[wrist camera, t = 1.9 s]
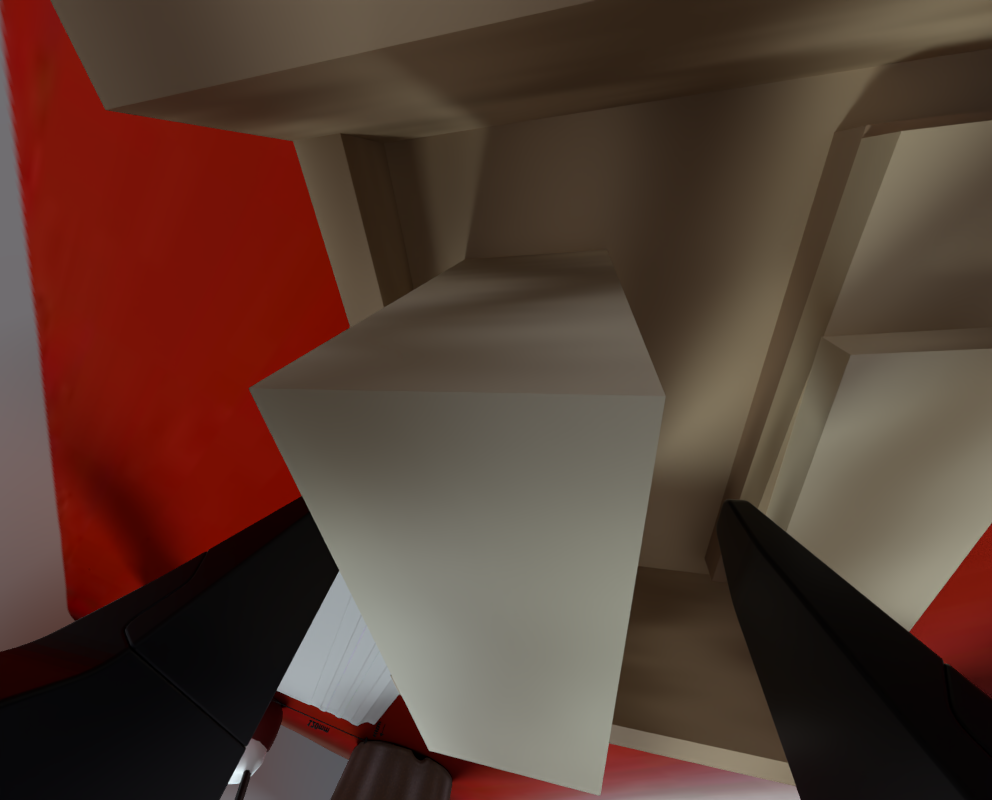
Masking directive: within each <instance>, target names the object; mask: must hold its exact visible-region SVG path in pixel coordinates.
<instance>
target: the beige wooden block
mask: <svg viewBox="0 0 992 800" xmlns="http://www.w3.org/2000/svg"><path fill="white" fill-rule="evenodd" d="M249 390H250V392H251V394H252V396H253V398H254V400H255V402H256V404H257V406H258V408H259V410H260V412H261V414H262V416H263V418H264V420H265V422H266V424H267V426H268V428H269V430H270V432H271V434H272V436H273V438H274V440H275V442H276V444H277V446H278V448H279V450H280V452H281V454H282V456H283V458H284V460H285V462H286V464H287V466H288V468H289V470H290V472H291V474H292V476H293V479H294V481H295V483H296V485H297V487H298V489H299V491H300V493H301V495H302V497H303V499H304V501H305V503H306V505H307V507H308V509H309V511H310V513H311V515H312V517H313V519H314V521H315V523H316V525H317V527H318V529H319V531H320V533H321V535H322V537H323V539H324V541H325V543H326V545H327V547H328V549H329V551H330V553H331V555H332V557H333V559H334V561H335V563H336V565H337V567H338V569H339V571H340V573H341V575H342V577H343V579H344V581H345V583H346V585H347V587H348V589H349V591H350V593H351V595H352V597H353V599H354V601H355V603H356V605H357V607H358V609H359V611H360V613H361V615H362V617H363V619H364V621H365V623H366V625H367V627H368V629H369V631H370V633H371V635H372V637H373V639H374V641H375V643H376V645H377V647H378V649H379V651H380V653H381V655H382V657H383V659H384V661H385V663H386V665H387V667H388V669H389V671H390V673H391V675H392V677H393V679H394V681H395V683H396V685H397V687H398V689H399V691H400V693H401V695H402V697H403V699H404V701H405V703H406V705H407V707H408V709H409V711H410V713H411V715H412V717H413V719H414V721H415V723H416V725H417V727H418V729H419V731H420V733H421V735H422V737H423V739H424V741H425V743H426V745H427V747H428V749H429V751H432V752H436V753H440V754H444V755H448V756H451V757H455V758H459V759H463V760H466V761H470V762H474V763H478V764H482V765H485V766H489V767H493V768H497V769H501V770H504V771H508V772H512V773H516V774H520V775H523V776H527V777H531V778H535V779H538V780H542V781H546V782H550V783H554V784H557V785H561V786H565V787H569V788H573V789H576V790H580V791H584V792H588V793H592V794H595V795H599V796H600V794H601V788H602V781H603V775H604V769H605V763H606V757H607V751H608V745H609V739H610V733H611V727H612V720H613V714H614V708H615V702H616V696H617V690H618V684H619V678H620V672H621V666H622V659H623V653H624V647H625V641H626V635H627V629H628V623H629V617H630V611H631V605H632V598H633V592H634V586H635V580H636V574H637V568H638V562H639V556H640V550H641V544H642V537H643V531H644V525H645V519H646V513H647V507H648V501H649V495H650V489H651V483H652V476H653V470H654V464H655V458H656V452H657V446H658V440H659V434H660V428H661V422H662V415H663V409H664V403H665V397H666V396H665V393H664V391H663V388H662V386H661V383H660V381H659V378H658V376H657V373H656V371H655V368H654V366H653V363H652V361H651V358H650V356H649V353H648V351H647V348H646V346H645V343H644V341H643V338H642V336H641V333H640V331H639V328H638V326H637V323H636V321H635V318H634V316H633V313H632V311H631V308H630V306H629V303H628V301H627V299H626V296H625V294H624V291H623V289H622V286H621V284H620V281H619V279H618V276H617V274H616V271H615V269H614V266H613V264H612V261H611V259H610V256H609V254H608V251H607V250H592V251H578V252H564V253H550V254H535V255H521V256H507V257H493V258H478V259H465V260H463V261H461V262H460V263H458V264H456V265H455V266H453V267H451V268H450V269H448V270H446V271H444V272H443V273H441V274H439V275H438V276H436V277H434V278H433V279H431V280H429V281H428V282H426V283H424V284H423V285H421V286H419V287H418V288H416V289H414V290H413V291H411V292H409V293H408V294H406V295H404V296H403V297H401V298H399V299H398V300H396V301H394V302H393V303H391V304H389V305H387V306H386V307H384V308H382V309H381V310H379V311H377V312H376V313H374V314H372V315H371V316H369V317H367V318H366V319H364V320H362V321H361V322H359V323H357V324H356V325H354V326H352V327H351V328H349V329H347V330H346V331H344V332H342V333H341V334H339V335H337V336H335V337H334V338H332V339H330V340H329V341H327V342H325V343H324V344H322V345H320V346H319V347H317V348H315V349H314V350H312V351H310V352H309V353H307V354H305V355H304V356H302V357H300V358H299V359H297V360H295V361H294V362H292V363H290V364H289V365H287V366H285V367H284V368H282V369H280V370H278V371H277V372H275V373H273V374H272V375H270V376H268V377H267V378H265V379H263V380H262V381H260V382H258V383H257V384H255V385H253V386H252V387H250V388H249Z"/></svg>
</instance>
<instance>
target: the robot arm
mask: <svg viewBox="0 0 992 800" xmlns="http://www.w3.org/2000/svg"><path fill="white" fill-rule="evenodd" d="M716 532H717V538H718V542H719V547H720V551H721V555H722V560H723V564H724V569H725V573H726V577H727V582H728V586H729V591H730V595H731V599H732V603H733V606H734V609H735V612H736V615H737V618H738V621H739V624H740V627H741V630H742V633H743V635H744V638H745V641H746V644H747V647H748V650H749V653H750V656H751V658H752V661H753V664H754V667H755V670H756V673H757V676H758V679H759V681H760V684H761V687H762V690H763V693H764V696H765V699H766V701H767V704H768V707H769V710H770V713H771V716H772V719H773V722H774V724H775V727H776V730H777V733H778V736H779V739H780V742H781V744H782V747H783V750H784V753H785V756H786V759H787V762H788V765H789V767H790V770H791V773H792V776H793V779H794V782H795V785H796V787H797V790H798V793H799V796H800V799H801V800H992V699H991V698H990V697H989V696H988V695H986V694H985V693H984V692H983V691H981V690H980V689H979V688H978V687H976V686H975V685H974V684H973V683H971V682H970V681H969V680H968V679H967V678H965V677H964V676H963V675H962V674H960V673H959V672H958V671H957V670H955V669H954V668H953V667H952V666H950V665H949V664H944V662H943V660H942V658H940V657H939V656H938V655H937V654H936V653H934V652H933V651H932V650H931V649H929V648H928V647H927V646H926V645H924V644H923V643H922V642H921V641H920V640H918V639H917V638H916V637H915V636H913V635H912V634H911V633H910V632H909V631H907V630H906V629H905V628H904V627H902V626H901V625H900V624H899V623H897V622H896V621H895V620H894V619H893V618H891V617H890V616H889V615H888V614H886V613H885V612H884V611H883V610H881V609H880V608H879V607H878V606H877V605H875V604H874V603H873V602H872V601H870V600H869V599H868V598H867V597H866V596H864V595H863V594H862V593H861V592H859V591H858V590H857V589H856V588H854V587H853V586H852V585H851V584H850V583H848V582H847V581H846V580H845V579H843V578H842V577H841V576H840V575H838V574H837V573H836V572H835V571H834V570H832V569H831V568H830V567H829V566H827V565H826V564H825V563H824V562H823V561H821V560H820V559H819V558H818V557H816V556H815V555H814V554H813V553H811V552H810V551H809V550H808V549H807V548H805V547H804V546H803V545H802V544H800V543H799V542H798V541H797V540H795V539H794V538H793V537H792V536H791V535H789V534H788V533H787V532H786V531H784V530H783V529H782V528H781V527H780V526H778V525H777V524H776V523H775V522H773V521H772V520H771V519H770V518H768V517H767V516H766V515H765V514H764V513H762V512H761V511H760V510H759V509H757V508H756V507H755V506H754V505H752V504H751V503H750V502H748V501H746V500H738V499H726V500H725V501H724V502H723V505H722V508H721V511H720V515H719V518H718V521H717V525H716ZM338 572H339V569H338V567H337V565H336V563H335V561H334V559H333V557H332V555H331V553H330V551H329V549H328V547H327V545H326V543H325V541H324V539H323V537H322V535H321V533H320V531H319V529H318V527H317V525H316V523H315V521H314V519H313V517H312V515H311V513H310V511H309V509H308V507H307V505H306V503H305V501H304V499H303V497H302V496H301V497H300V498H298V499H296V500H294V501H293V502H291V503H289V504H287V505H286V506H284V507H282V508H280V509H279V510H277V511H275V512H273V513H272V514H270V515H268V516H267V517H265V518H263V519H261V520H260V521H258V522H256V523H254V524H253V525H251V526H249V527H247V528H246V529H244V530H242V531H240V532H239V533H237V534H235V535H233V536H232V537H230V538H228V539H227V540H225V541H223V542H221V543H220V544H218V545H216V546H214V547H213V548H211V549H209V550H208V552H204V553H202V554H200V555H199V556H197V557H195V558H193V559H192V560H190V561H188V562H186V563H185V564H183V565H181V566H179V567H178V568H176V569H174V570H172V571H170V572H169V573H167V574H165V575H163V576H161V577H160V578H158V579H156V580H154V581H152V582H150V583H148V584H146V585H144V586H143V587H141V588H139V589H137V590H135V591H133V592H131V593H129V594H127V595H125V596H123V597H121V598H120V599H118V600H116V601H114V602H112V603H110V604H108V605H106V606H104V607H102V608H100V609H98V610H96V611H94V612H92V613H90V614H89V615H87V616H85V617H83V618H81V619H79V620H77V621H75V622H73V623H71V624H69V625H67V626H65V627H63V628H61V629H60V630H57V631H55V632H53V633H51V634H49V635H47V636H45V637H43V638H40V639H38V640H35V641H33V642H30V643H28V644H25V645H22V646H19V647H16V648H12V649H9V650H5V651H1V652H0V800H220V798H221V796H222V794H223V792H224V790H225V788H226V786H227V784H228V783H229V781H230V779H231V777H232V775H233V773H234V771H235V769H236V767H237V765H238V764H239V762H240V760H241V758H242V756H243V754H244V752H245V750H246V746H247V745H248V744H249V742H250V740H251V738H252V736H253V734H254V733H255V731H256V729H257V727H258V725H259V723H260V721H261V719H262V717H263V715H264V713H265V712H266V710H267V708H268V706H269V704H270V702H271V700H272V698H273V696H274V694H275V692H276V691H277V689H278V687H279V685H280V683H281V681H282V679H283V677H284V675H285V673H286V672H287V670H288V668H289V666H290V664H291V662H292V660H293V658H294V656H295V654H296V652H297V651H298V649H299V647H300V645H301V643H302V641H303V639H304V637H305V635H306V633H307V631H308V630H309V628H310V626H311V624H312V622H313V620H314V618H315V616H316V614H317V612H318V610H319V609H320V607H321V605H322V603H323V601H324V599H325V597H326V595H327V593H328V591H329V590H330V588H331V586H332V584H333V582H334V580H335V578H336V576H337V574H338Z"/></svg>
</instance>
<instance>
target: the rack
mask: <svg viewBox="0 0 992 800" xmlns="http://www.w3.org/2000/svg"><path fill="white" fill-rule="evenodd" d="M51 2H52V4H53V6H54V8H55V10H56V12H57V14H58V16H59V18H60V20H61V22H62V24H63V26H64V28H65V30H66V32H67V34H68V36H69V38H70V40H71V42H72V44H73V46H74V48H75V50H76V52H77V54H78V56H79V58H80V60H81V62H82V64H83V66H84V68H85V70H86V72H87V74H88V76H89V78H90V80H91V82H92V84H93V86H94V88H95V90H96V92H97V94H98V96H99V98H100V100H101V102H102V104H103V106H104V108H105V110H109V111H115V112H121V113H127V114H133V115H139V116H145V117H151V118H157V119H163V120H169V121H175V122H181V123H187V124H193V125H199V126H205V127H211V128H217V129H223V130H229V131H235V132H241V133H247V134H253V135H259V136H265V137H271V138H277V139H284V140H290V141H293V142H294V145H295V149H296V152H297V155H298V158H299V162H300V165H301V168H302V171H303V175H304V178H305V181H306V184H307V188H308V191H309V194H310V197H311V201H312V204H313V207H314V210H315V214H316V217H317V220H318V223H319V227H320V230H321V233H322V236H323V240H324V243H325V246H326V249H327V253H328V256H329V259H330V262H331V266H332V269H333V272H334V276H335V279H336V282H337V285H338V289H339V292H340V295H341V298H342V302H343V305H344V308H345V311H346V315H347V318H348V321H349V324H350V328H351V327H352V326H354V325H356V324H357V323H359V322H361V321H362V320H364V319H366V318H367V317H369V316H371V315H372V314H374V313H376V312H377V311H379V310H381V309H382V308H384V307H386V306H387V305H389V304H391V303H393V302H394V301H396V300H398V299H399V298H401V297H403V296H404V295H406V294H408V293H409V292H411V291H413V290H414V289H416V288H418V287H419V286H421V285H423V284H424V283H426V282H428V281H429V280H431V279H433V278H434V277H436V276H438V275H439V274H441V273H443V272H444V271H446V270H448V269H450V268H451V267H453V266H455V265H456V264H458V263H460V262H461V261H463V260H465V259H478V258H493V257H507V256H521V255H535V254H550V253H564V252H578V251H592V250H607V251H608V254H609V256H610V259H611V261H612V264H613V266H614V269H615V271H616V274H617V276H618V279H619V281H620V284H621V286H622V289H623V291H624V294H625V296H626V299H627V301H628V303H629V306H630V308H631V311H632V313H633V316H634V318H635V321H636V323H637V326H638V328H639V331H640V333H641V336H642V338H643V341H644V343H645V346H646V348H647V351H648V353H649V356H650V358H651V361H652V363H653V366H654V368H655V371H656V373H657V376H658V378H659V381H660V383H661V386H662V388H663V391H664V393H665V396H666V397H665V403H664V409H663V415H662V422H661V428H660V434H659V440H658V446H657V452H656V458H655V464H654V470H653V476H652V483H651V489H650V495H649V501H648V507H647V513H646V519H645V525H644V531H643V537H642V544H641V550H640V556H639V562H638V568H637V574H636V580H635V586H634V592H633V598H632V605H631V611H630V617H629V623H628V629H627V635H626V641H625V647H624V653H623V659H622V666H621V672H620V678H619V684H618V690H617V696H616V702H615V708H614V714H613V720H612V727H611V733H610V739H609V743H611V744H615V745H619V746H624V747H628V748H632V749H637V750H641V751H645V752H650V753H654V754H658V755H663V756H667V757H671V758H676V759H680V760H684V761H689V762H693V763H697V764H702V765H706V766H710V767H715V768H719V769H723V770H728V771H732V772H736V773H741V774H745V775H749V776H754V777H758V778H762V779H767V780H771V781H776V782H780V783H784V784H789V785H793V786H796V785H795V782H794V779H793V776H792V773H791V770H790V767H789V765H788V762H787V759H786V756H785V753H784V750H783V747H782V744H781V742H780V739H779V736H778V733H777V730H776V727H775V724H774V722H773V719H772V716H771V713H770V710H769V707H768V704H767V701H766V699H765V696H764V693H763V690H762V687H761V684H760V681H759V679H758V676H757V673H756V670H755V667H754V664H753V661H752V658H751V656H750V653H749V650H748V647H747V644H746V641H745V638H744V635H743V633H742V630H741V627H740V624H739V621H738V618H737V615H736V612H735V609H734V606H733V603H732V599H731V595H730V591H729V586H728V583H724V582H716V581H712V580H711V577H710V574H709V571H708V568H707V565H706V561H705V555H706V551H707V548H708V545H709V541H710V538H711V535H712V532H713V528H714V525H715V522H716V518H717V515H718V512H719V509H720V505H721V502H722V499H723V496H724V492H725V489H726V486H727V482H728V479H729V476H730V473H731V469H732V466H733V463H734V459H735V456H736V453H737V450H738V446H739V443H740V440H741V437H742V433H743V430H744V427H745V423H746V420H747V417H748V414H749V410H750V407H751V404H752V401H753V397H754V394H755V391H756V387H757V384H758V381H759V378H760V374H761V371H762V368H763V364H764V361H765V358H766V355H767V351H768V348H769V345H770V342H771V338H772V335H773V332H774V328H775V325H776V322H777V319H778V315H779V312H780V309H781V306H782V302H783V299H784V296H785V292H786V289H787V286H788V283H789V279H790V276H791V273H792V269H793V266H794V263H795V260H796V256H797V253H798V250H799V247H800V243H801V240H802V237H803V233H804V230H805V227H806V224H807V220H808V217H809V214H810V211H811V207H812V204H813V201H814V197H815V194H816V191H817V188H818V184H819V181H820V178H821V174H822V171H823V168H824V165H825V161H826V158H827V155H828V152H829V148H830V145H831V142H832V138H833V135H834V132H839V131H843V130H848V129H852V128H856V127H861V126H865V125H873V124H881V123H889V122H896V121H904V120H912V119H920V118H928V117H936V116H944V115H952V114H960V113H968V112H976V111H984V110H992V0H51ZM390 676H391V678H392V680H393V682H394V684H395V686H396V688H397V690H398V692H399V694H400V695H401V693H400V691H399V689H398V687H397V685H396V683H395V681H394V679H393V677H392V675H390Z"/></svg>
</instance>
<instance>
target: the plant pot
mask: <svg viewBox="0 0 992 800" xmlns="http://www.w3.org/2000/svg"><path fill="white" fill-rule="evenodd" d="M363 744H364V742H361V743H359V745H358V746H356V747H355V748H354V750H353V752H352V754H351V756H350V759H349V761H348V763H347V765H346V768H345V770H344V772H343V774H342V776H341V778H340V780H339V783H338V785H337V787H336V789H335V791H334V793H333V795H332V798H331V800H450V794H451V788H452V778H451V776H450V774H449V773H448V771H447V770H446V769H445V768H444V767H443V766H440V765H439V764H438V763H436V762H435V761H433V760H431V759H430V758H427V757H426V758H425V759H423V760H418V759H417V758H416V757H415V756H414V754H413V752H412V750H409V749H406V748H403V747H399V746H396V745H393V744H392V743H388V742H382V741H368V742H367V743H365V744H364V745H363Z"/></svg>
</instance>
